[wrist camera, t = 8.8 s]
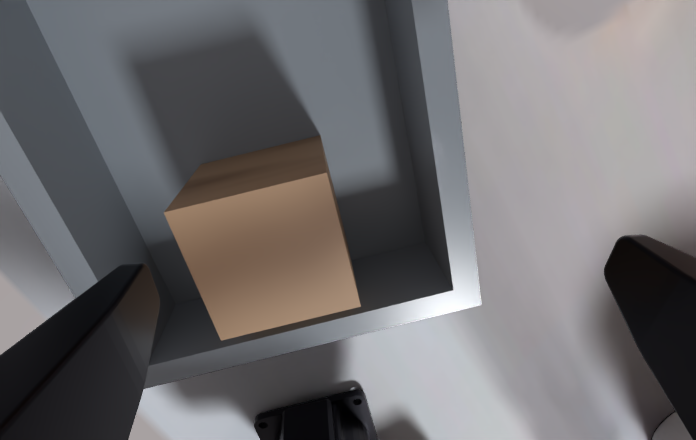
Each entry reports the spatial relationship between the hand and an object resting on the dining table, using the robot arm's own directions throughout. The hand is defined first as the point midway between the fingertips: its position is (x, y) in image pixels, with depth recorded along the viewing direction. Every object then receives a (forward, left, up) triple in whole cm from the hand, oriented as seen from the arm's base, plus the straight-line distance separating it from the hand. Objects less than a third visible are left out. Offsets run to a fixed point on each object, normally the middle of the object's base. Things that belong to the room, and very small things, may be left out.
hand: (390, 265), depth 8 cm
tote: (+2, +3, -11) cm, 12 cm away
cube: (-2, +3, -10) cm, 11 cm away
